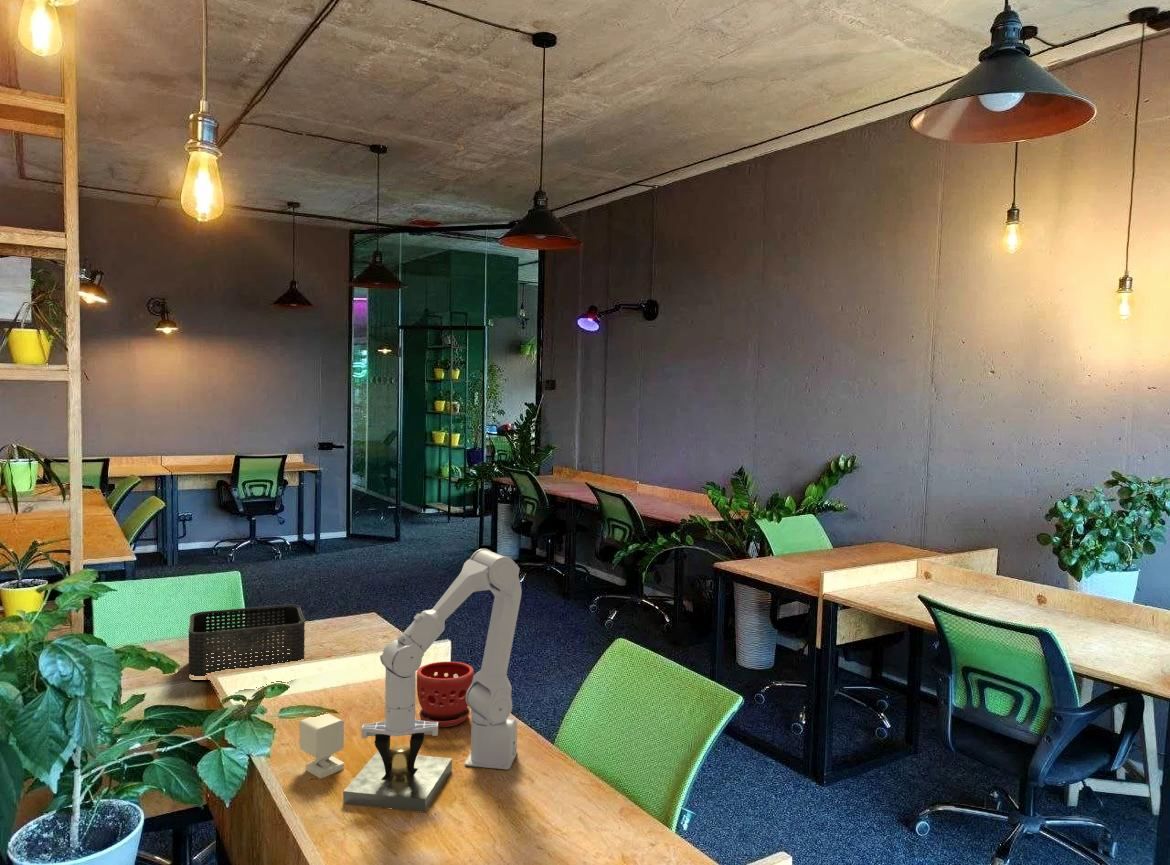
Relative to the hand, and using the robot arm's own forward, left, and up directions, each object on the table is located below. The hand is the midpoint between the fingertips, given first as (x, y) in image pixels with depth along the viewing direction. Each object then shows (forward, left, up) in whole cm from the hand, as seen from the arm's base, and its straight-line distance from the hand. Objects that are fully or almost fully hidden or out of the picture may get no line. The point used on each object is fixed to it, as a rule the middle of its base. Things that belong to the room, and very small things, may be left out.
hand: (400, 770), depth 157 cm
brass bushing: (0, 0, -2) cm, 2 cm away
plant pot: (+1, -31, -3) cm, 31 cm away
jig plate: (0, 0, -3) cm, 3 cm away
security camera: (+18, -4, -3) cm, 19 cm away
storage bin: (+64, -53, -4) cm, 84 cm away
